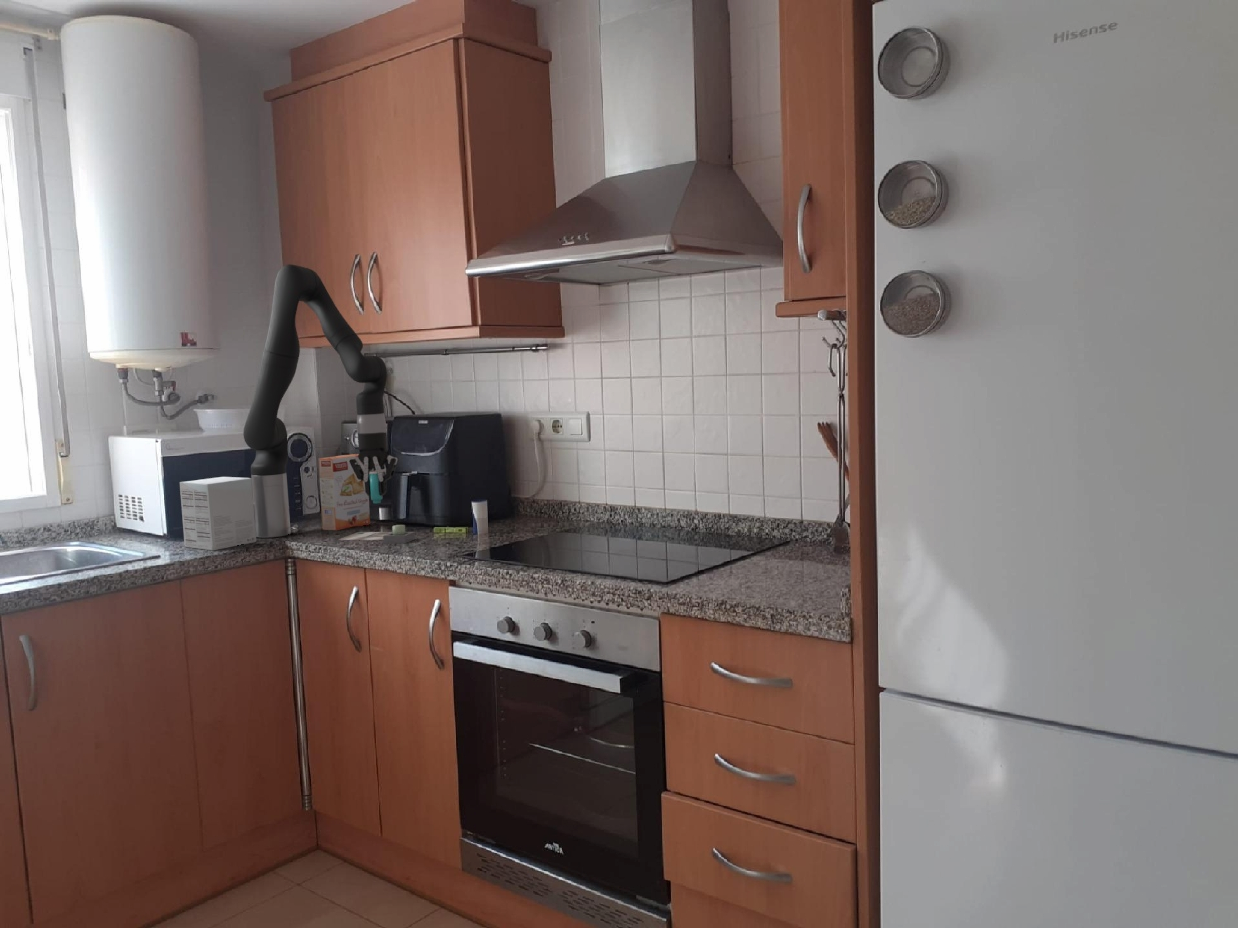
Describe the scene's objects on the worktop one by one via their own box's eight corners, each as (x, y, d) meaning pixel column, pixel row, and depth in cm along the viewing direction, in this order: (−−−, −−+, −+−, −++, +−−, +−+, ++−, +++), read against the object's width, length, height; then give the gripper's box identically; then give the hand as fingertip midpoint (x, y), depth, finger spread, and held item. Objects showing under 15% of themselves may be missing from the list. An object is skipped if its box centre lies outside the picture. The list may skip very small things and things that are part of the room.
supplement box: (227, 538, 271) (223, 476, 269) (257, 542, 264) (252, 477, 262) (183, 547, 260) (177, 481, 258) (212, 550, 253) (207, 483, 251)
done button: (390, 538, 252) (390, 526, 251) (396, 536, 255) (395, 524, 254) (402, 538, 251) (401, 526, 251) (407, 536, 254) (406, 524, 254)
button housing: (383, 545, 251) (383, 535, 251) (393, 541, 257) (393, 531, 256) (405, 545, 249) (404, 535, 249) (415, 541, 255) (414, 531, 255)
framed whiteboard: (334, 542, 258) (333, 539, 258) (357, 534, 271) (357, 531, 271) (390, 542, 255) (390, 539, 255) (411, 534, 267) (411, 531, 267)
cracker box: (337, 532, 275) (332, 458, 273) (321, 531, 277) (316, 458, 275) (372, 524, 287) (367, 453, 285) (356, 523, 290) (351, 453, 288)
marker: (369, 503, 263) (366, 471, 262) (374, 502, 266) (371, 470, 265) (379, 503, 262) (377, 471, 261) (384, 501, 265) (382, 470, 264)
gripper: (340, 433, 260) (345, 497, 261) (390, 431, 257) (394, 496, 258) (354, 431, 267) (358, 493, 269) (402, 429, 264) (406, 492, 266)
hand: (376, 494), depth 263 cm, fingers closed on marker, 3 cm apart
